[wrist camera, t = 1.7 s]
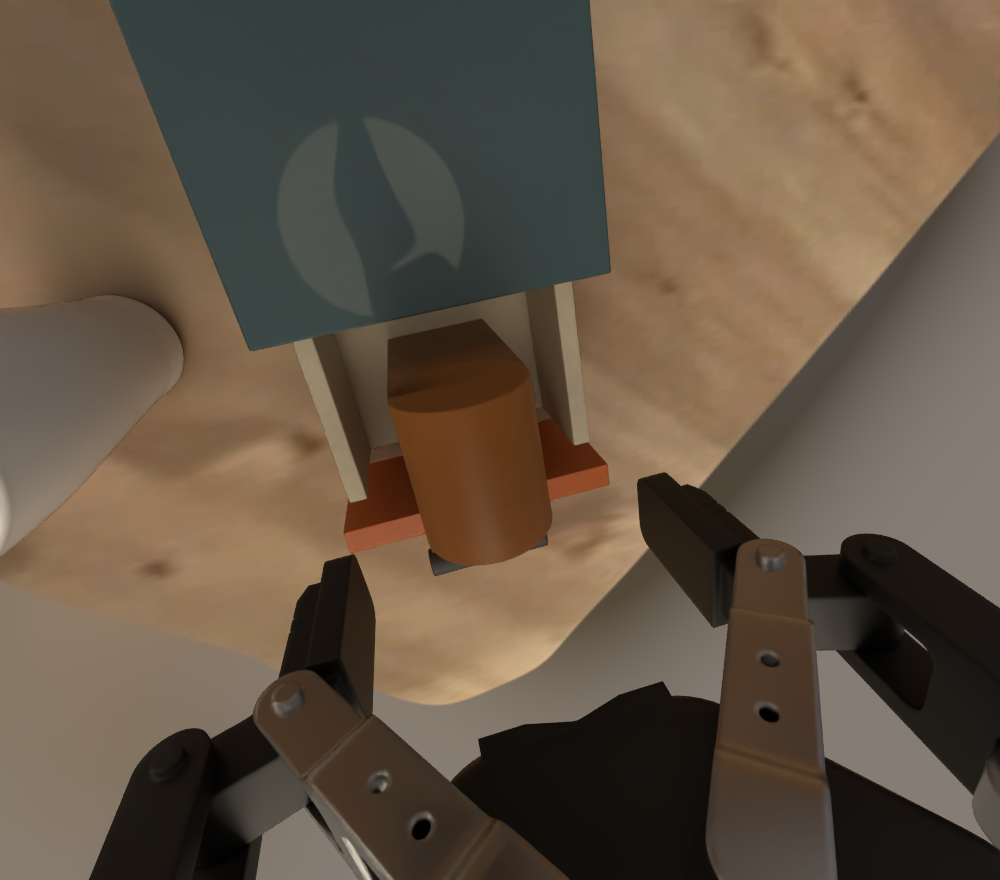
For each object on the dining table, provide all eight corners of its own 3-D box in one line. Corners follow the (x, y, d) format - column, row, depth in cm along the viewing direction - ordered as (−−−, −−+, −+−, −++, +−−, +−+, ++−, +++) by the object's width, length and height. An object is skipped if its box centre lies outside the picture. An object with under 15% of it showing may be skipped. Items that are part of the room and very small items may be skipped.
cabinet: (549, 257, 28) (611, 272, 20) (290, 313, 26) (248, 352, 19) (504, -100, 22) (568, -279, 14) (160, -55, 20) (16, -226, 12)
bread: (387, 339, 26) (386, 426, 15) (482, 318, 26) (547, 387, 16) (416, 443, 28) (433, 581, 18) (502, 422, 29) (569, 543, 18)
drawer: (574, 492, 33) (616, 554, 27) (378, 544, 32) (376, 622, 26) (534, 193, 25) (581, 185, 19) (275, 244, 24) (236, 253, 18)
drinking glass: (197, 285, 25) (-29, 364, 11) (209, 414, 27) (35, 603, 14) (33, 269, 23) (-451, 338, 10) (62, 408, 26) (-293, 613, 12)
